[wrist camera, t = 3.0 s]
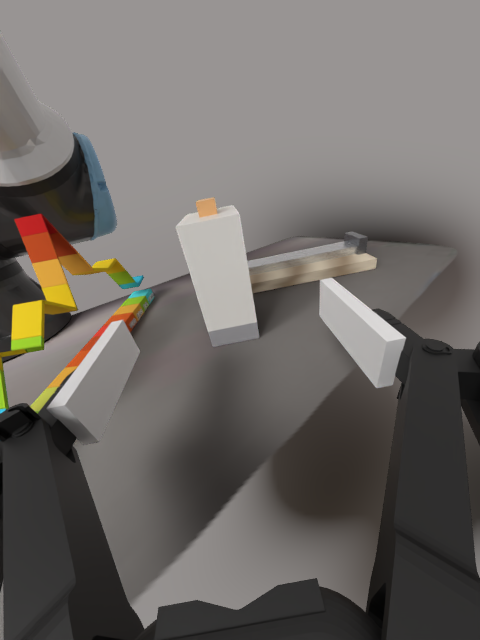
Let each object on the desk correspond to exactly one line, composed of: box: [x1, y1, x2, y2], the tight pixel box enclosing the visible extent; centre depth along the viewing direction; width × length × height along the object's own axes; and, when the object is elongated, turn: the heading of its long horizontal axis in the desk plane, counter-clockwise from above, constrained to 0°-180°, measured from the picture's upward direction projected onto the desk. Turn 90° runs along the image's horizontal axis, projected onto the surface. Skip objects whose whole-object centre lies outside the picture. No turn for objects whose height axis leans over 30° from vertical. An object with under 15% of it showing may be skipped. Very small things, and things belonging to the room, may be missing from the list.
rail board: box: [250, 253, 377, 293], centre depth 36 cm, size 22×10×2 cm, turn 96°
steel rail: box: [247, 232, 368, 275], centre depth 35 cm, size 22×4×2 cm, turn 96°
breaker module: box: [176, 197, 259, 347], centre depth 23 cm, size 5×8×13 cm, turn 6°
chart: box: [0, 213, 154, 414], centre depth 21 cm, size 30×3×15 cm, turn 1°
